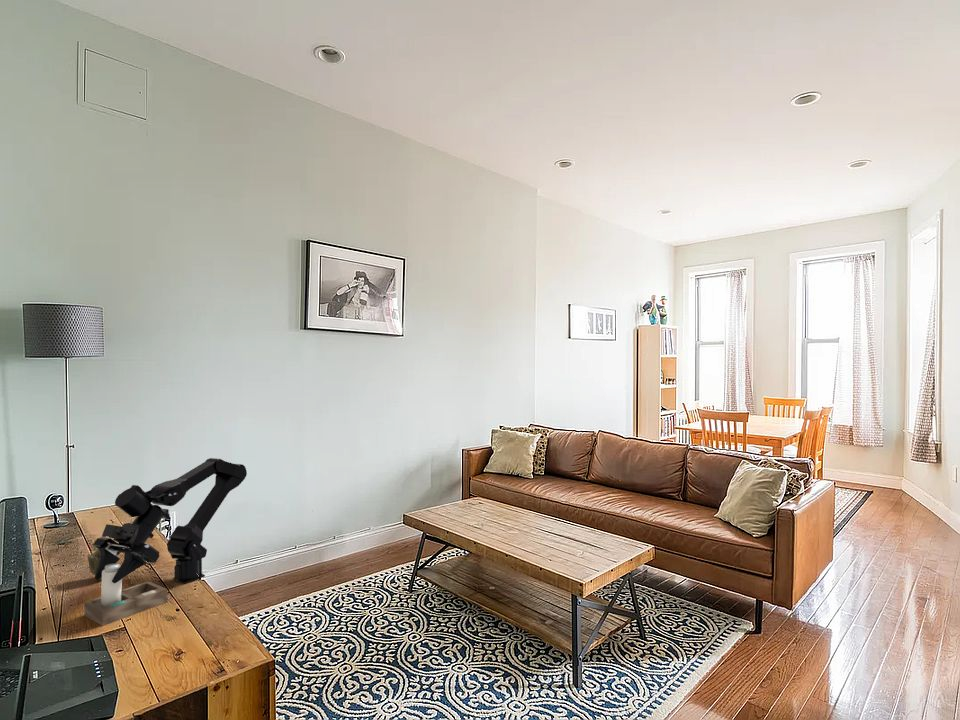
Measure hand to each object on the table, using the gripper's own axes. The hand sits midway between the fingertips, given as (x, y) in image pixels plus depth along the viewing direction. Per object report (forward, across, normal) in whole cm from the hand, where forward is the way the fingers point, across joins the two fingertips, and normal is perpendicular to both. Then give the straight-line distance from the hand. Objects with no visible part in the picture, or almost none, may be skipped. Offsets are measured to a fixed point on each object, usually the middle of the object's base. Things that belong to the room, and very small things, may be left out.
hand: (104, 580), depth 143 cm
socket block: (+3, +1, +10) cm, 10 cm away
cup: (-5, -24, +18) cm, 31 cm away
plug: (+5, 0, +7) cm, 9 cm away
